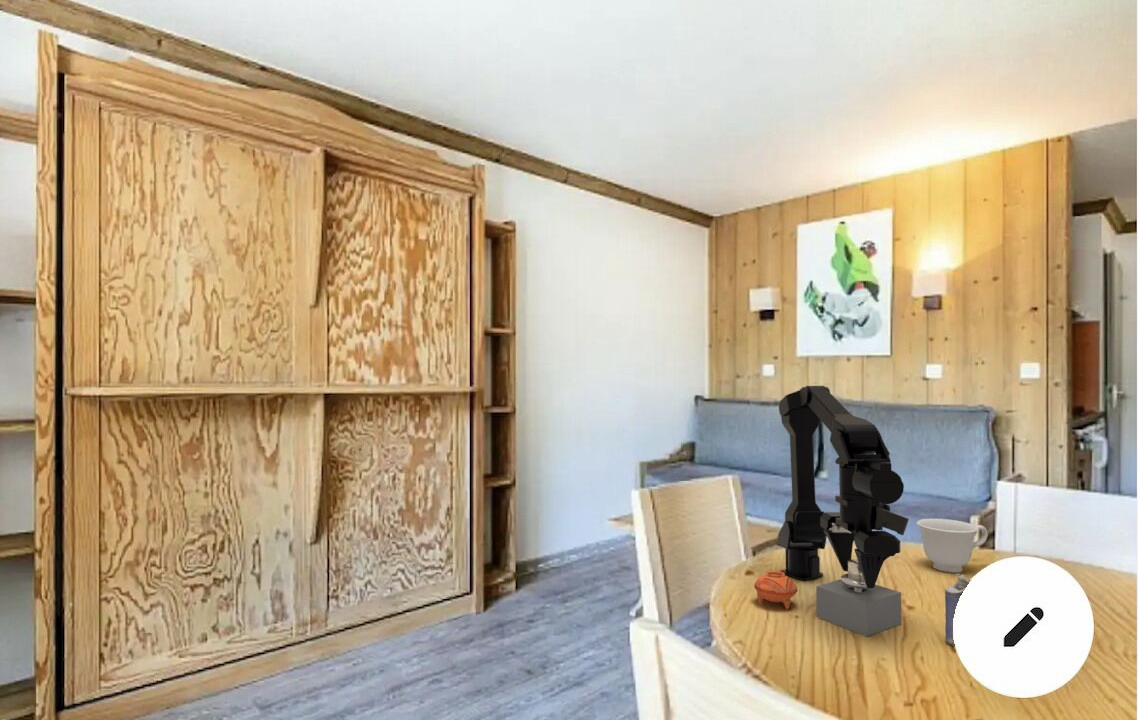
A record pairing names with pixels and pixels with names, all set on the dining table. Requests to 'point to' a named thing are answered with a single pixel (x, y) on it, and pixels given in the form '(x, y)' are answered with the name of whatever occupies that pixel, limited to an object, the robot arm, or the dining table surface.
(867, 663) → the dining table surface
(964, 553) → the teacup
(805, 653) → the dining table surface
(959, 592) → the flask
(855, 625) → the box
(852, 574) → the plunger
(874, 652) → the dining table surface
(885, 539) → the robot arm
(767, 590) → the pot
